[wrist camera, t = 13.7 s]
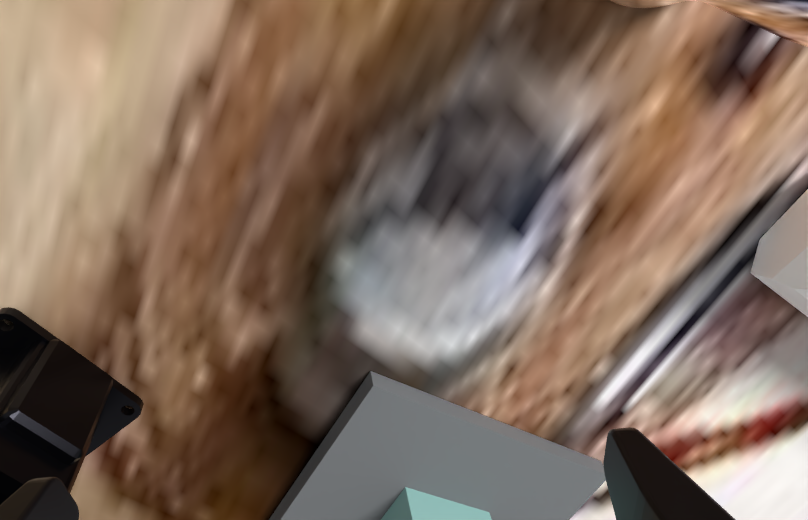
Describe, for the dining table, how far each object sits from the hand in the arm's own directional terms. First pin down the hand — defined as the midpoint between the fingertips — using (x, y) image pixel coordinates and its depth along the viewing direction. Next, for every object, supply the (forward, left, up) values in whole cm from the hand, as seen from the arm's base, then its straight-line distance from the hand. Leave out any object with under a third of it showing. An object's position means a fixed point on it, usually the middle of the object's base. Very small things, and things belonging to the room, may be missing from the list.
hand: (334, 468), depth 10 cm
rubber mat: (-7, -17, -13) cm, 23 cm away
